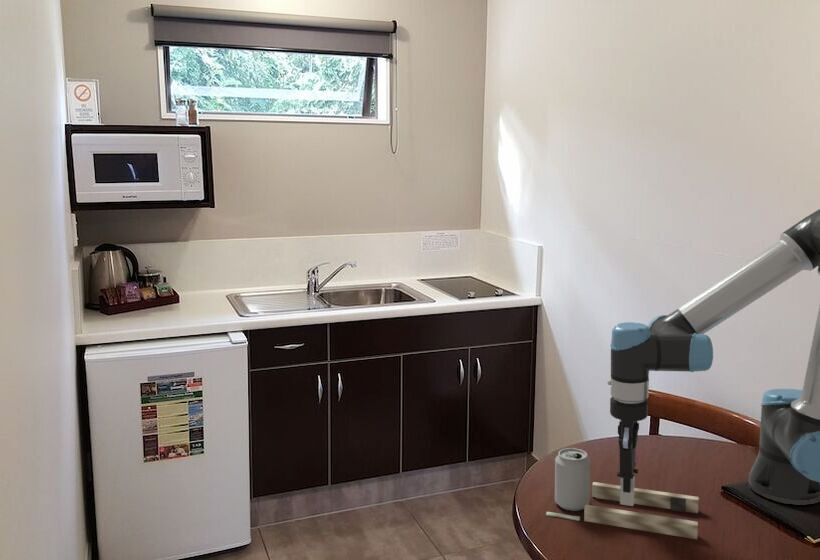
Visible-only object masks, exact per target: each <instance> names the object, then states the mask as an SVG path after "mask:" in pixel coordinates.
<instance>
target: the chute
mask: <svg viewBox="0 0 820 560" xmlns="http://www.w3.org/2000/svg"><path fill="white" fill-rule="evenodd" d="M591 485H592V486H591V498H593V497H595V499H599V500H608V501H613V502H614V501H615V502H620V484H619V485H618V484H610V483H606V482H605V483H604V482H597V481H593V482H592V484H591ZM699 501H700V497H699V496H693V495H687V494H681V493H680V494H679V493H673V492H667V491H666V492H665V491H658V490H652V489H645V488H638V487H634V505H639V506H640V505H641V506H646V507H654V508H659V509H661V508H662V509H666V510H667V509H668V510H670V511H673V512H679V513H680V512H681V513H686V512H687V513H694V514H698V513H699ZM583 510H584V511H583V513H584V514H583V515H584V516H583V519H584V520H583V521H584V522H589V523H595V524H599V525H600V524H601V525H605V526H606V525H607V526H613V527H619V528H623V529H624V528H626V529H631V530H638V531H643V532H648V533H650V532H651V533H656V534H662V535H667V536H674V537H682V538H687V539H693V540H698V530H699V529H698V528H699V527H698V526H699V522H698V521H695V520H688V519H686V518H682V517H677V516H676V517H675V516H664V515H656V514H652V513H651V514H649V513H645V512H644V513H643V512H638V511H637V512H636V511H630V510H624V509H618V508H617V509H616V508H612V507H605V506H597V505H592V504H589V505H587V504H586V505H585V508H584V509H583ZM545 516H546V517H554V518H559V519H567V520H571V521H578V522H580V520H581V516H578V515H573V514H572V515H571V514H565V513H558V512H553V511H546V513H545Z"/></svg>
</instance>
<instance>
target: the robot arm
mask: <svg viewBox="0 0 820 560" xmlns="http://www.w3.org/2000/svg"><path fill="white" fill-rule="evenodd" d="M817 267H818V268H817ZM816 268H817V274H818V275H819V276H820V208H819V209H817V210H815V211H814V212H812V213H810V214H809V215H807V216H806V217H804V218H802V219H801V220H799V221H798V222H797V223H795V224H794V225H792V226H790V227H789V228H788V229H786V230H785V231H783V232H782V233H780V234H779V240H778V241H777V242H776V243H774V244H773V245H771V246H770V247H768V248H767V249H766V250H763V251H762V252H761V253H759V254H757V256H756V255H755V256H754V257H753V258H752V259H750V260H748V261H747V262H746V263H745V264H742V265H741V266H740V267H738V268H737V269H736V270H734V271H733V272H731V273H729V274H728V275H727V276H725V277H723V278H722V279H721V280H719V281H717V282H716V283H715V284H713V285H711V286H710V287H709V288H707V289H706V290H704V291H702V292H701V293H700V294H698V295H697V296H695V297H694V298H692V299H691V300H689V301H687V303H684V305H681V306H680V307H679V308H677V309H675V310H674V311H672V312H670V313H669V314H661V315H658V316H655V317H654V318H653V319H651V321H650V322H649V323H648V325H647V324H645V323H641V322H632V321H630V322H628V321H626V322H620V323H618V324H615V325H614V326H613V328H612V330H611V340H610V341H611V343H610V380H607V385H608V386H610V396H611V397H610V399H609V402H610V403H609V406H610V407H609V414H610V416H611V417H612V418H614V419H616V420H619V423H618V426H617V434H618V447H619V448H618V449H619V471H617V474H616V476H617V477H619V478H620V482H619V483H620V484H619V486H620V501H619V504H620V505H622V506H623V505H624V506H629V507H630V506H631V507H634V505H635V504H634V488H635V475H636V474H639V469H638V468H637V469H636V468H635V467H636V466H637V465H636V453H637V443H638V437H639V436H638V435H639V430H640V423H639V422H641V421H643V420H646V419H647V418H648V415H649V400H648V398H649V393H650V392H649V391H650V378H649V377H650V376H649V375H650V372H690V373H694V372H706V371H709V370H710V369H711V367H712V365H713V360H714V348H713V342H712V339H711V338H710V336H709V335H707V334H706V333H708V332H710V330H713V329H714V328H715V327H717V326H719V325H720V324H722V323H723V322H724V321H726V320H727V319H729V318H731V317H733V316H734V315H735V314H737V313H739V312H740V311H742V310H744V309H745V308H746V307H748V306H749V305H751V304H752V303H754V302H755V301H757V300H759V299H761V297H763V296H765V295H767V294H769V292H771V291H773V290H774V289H775V288H777V287H779V286H780V285H782V284H783V283H785V282H787V281H788V280H790V279H791V278H793V277H794V276H796V275H797V274H799V273H800V272H802V271H809V272H810V271H812V270H814V269H816ZM818 307H819V308H818V312H817V316H816V321H815V326H814V332H813V337H812V341H811V346H810V351H809V357H808V362H807V368H806V372H805V376H804V382H803V386H802V389H796V388H795V389H794V388H773V389H769V390H766V391H765V392H764V393H763V394H762V400H761V403H760V407H761V408H760V409H761V410H760V427H759V428H760V430H759V444H758V445H759V449H758V454H757V457H756V458H755V461H754V463H753V465H752V467H751V469H750V472H749V474H748V482H749V484H750V485H751V486H752V487H753V488H755V489H756V490H758V491H760V492H762V493H765V494H768V495H771V496H775V497H778V498H784V499H790V500H810V499H814V498H817V497H818V496H820V305H819V306H818Z"/></svg>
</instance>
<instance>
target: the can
mask: <svg viewBox="0 0 820 560" xmlns="http://www.w3.org/2000/svg"><path fill="white" fill-rule="evenodd" d="M557 454H558V455H556V457H554V461H555V462H554V502H555V503H556V504H557V505H558V506H559V507H560V508H562V509H564V510H565V511H569V510H570V511H571V512H578V511H583V510H584V508H585V505H586V504H587V505H590V503H591V459H590V458H589V457H588V456H589V455H588V453H587V452H586V451H585V450H583V449H580V448H575V447H569V448H562V449H560V450H559V451H558V453H557Z"/></svg>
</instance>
